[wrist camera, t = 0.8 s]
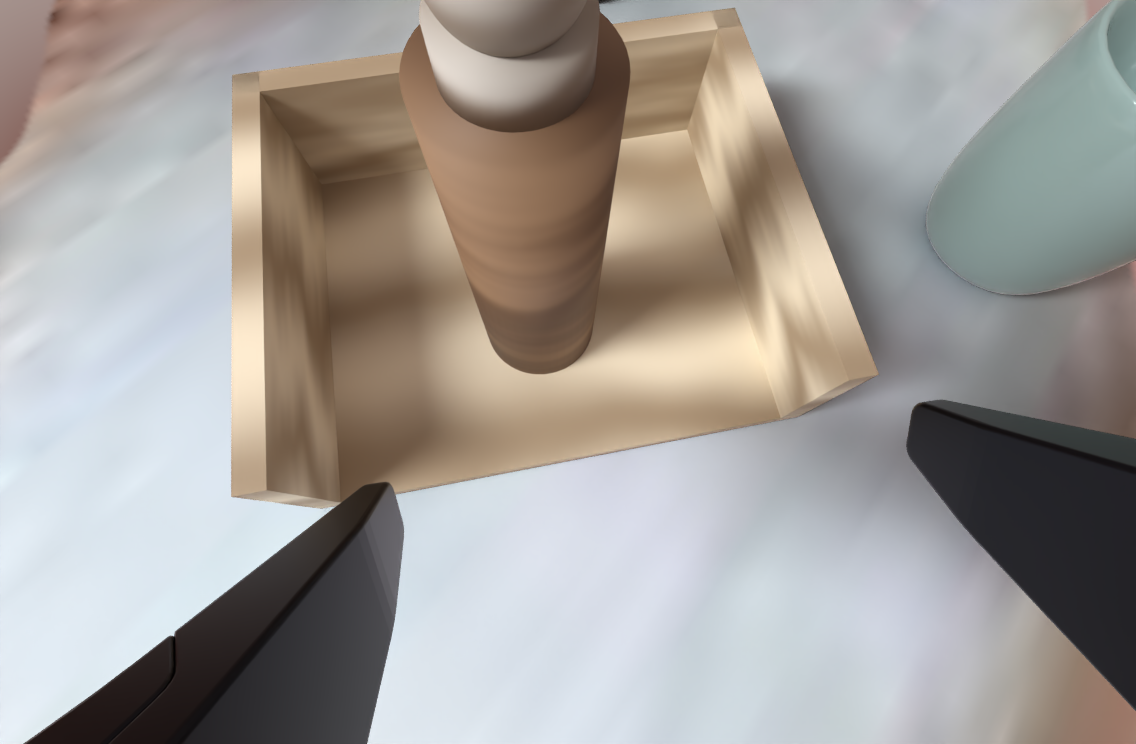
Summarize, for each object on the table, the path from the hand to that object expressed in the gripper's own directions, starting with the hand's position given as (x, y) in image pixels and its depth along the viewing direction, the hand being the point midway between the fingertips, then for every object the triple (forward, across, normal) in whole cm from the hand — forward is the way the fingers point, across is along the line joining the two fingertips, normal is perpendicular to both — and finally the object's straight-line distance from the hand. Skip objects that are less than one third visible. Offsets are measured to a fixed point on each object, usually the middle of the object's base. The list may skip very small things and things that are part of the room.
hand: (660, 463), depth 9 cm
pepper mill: (+14, +2, +2) cm, 15 cm away
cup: (+16, -20, +1) cm, 26 cm away
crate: (+16, +2, +1) cm, 16 cm away
